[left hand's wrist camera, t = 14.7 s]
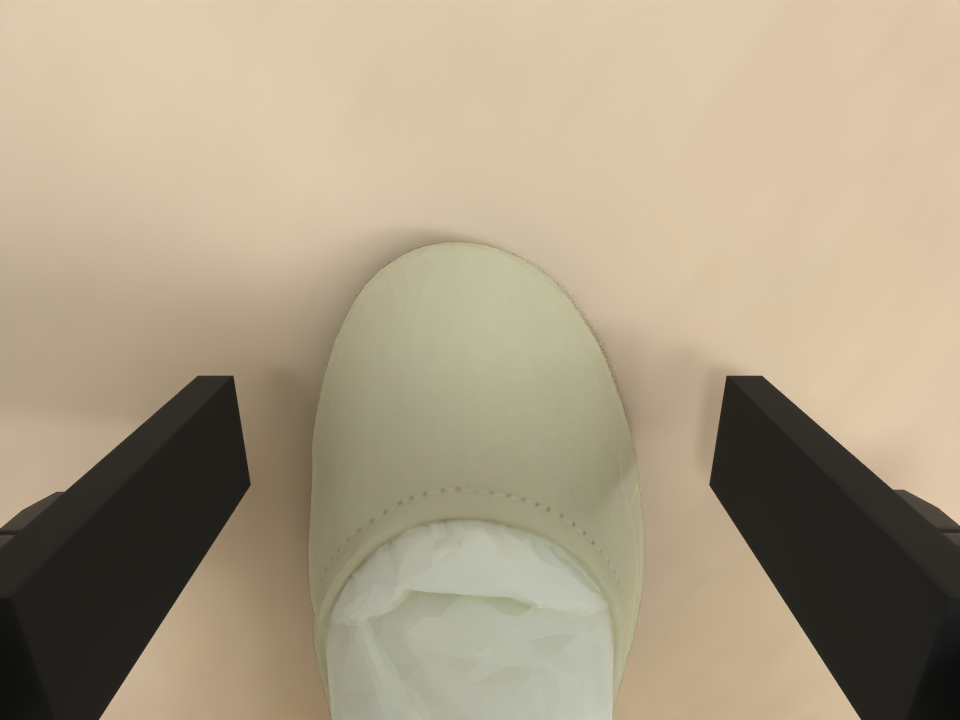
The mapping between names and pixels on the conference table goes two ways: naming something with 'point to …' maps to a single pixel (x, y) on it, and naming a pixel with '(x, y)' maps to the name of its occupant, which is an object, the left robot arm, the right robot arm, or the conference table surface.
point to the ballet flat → (471, 500)
